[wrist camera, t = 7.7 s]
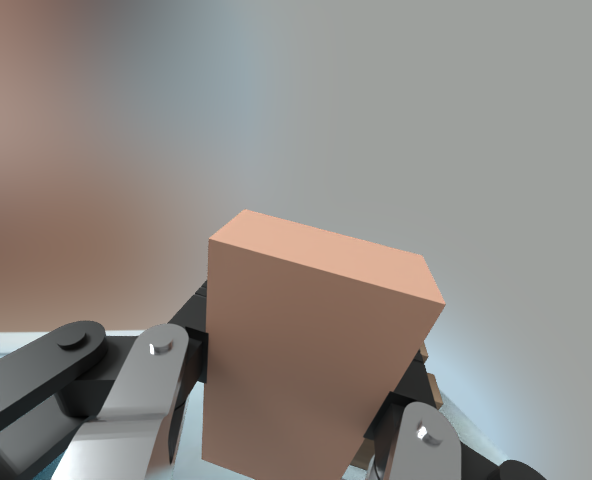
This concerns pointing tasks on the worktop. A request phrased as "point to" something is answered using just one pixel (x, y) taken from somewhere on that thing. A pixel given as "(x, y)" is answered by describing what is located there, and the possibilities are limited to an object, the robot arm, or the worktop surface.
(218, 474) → the worktop surface
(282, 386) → the salmon pink domino
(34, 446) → the robot arm
